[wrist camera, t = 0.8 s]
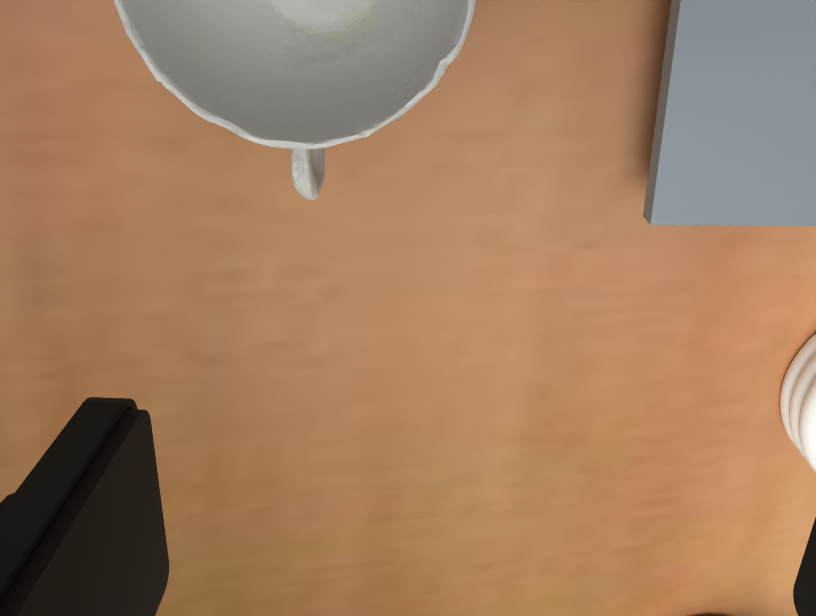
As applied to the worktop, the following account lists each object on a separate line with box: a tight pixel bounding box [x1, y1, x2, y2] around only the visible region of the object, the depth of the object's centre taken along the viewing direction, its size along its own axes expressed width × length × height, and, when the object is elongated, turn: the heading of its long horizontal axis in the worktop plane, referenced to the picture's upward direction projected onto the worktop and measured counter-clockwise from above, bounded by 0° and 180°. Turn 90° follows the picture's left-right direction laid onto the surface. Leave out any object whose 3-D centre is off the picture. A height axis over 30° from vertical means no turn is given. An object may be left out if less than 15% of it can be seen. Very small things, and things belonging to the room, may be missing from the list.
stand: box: [643, 0, 816, 226], centre depth 31 cm, size 14×12×4 cm
